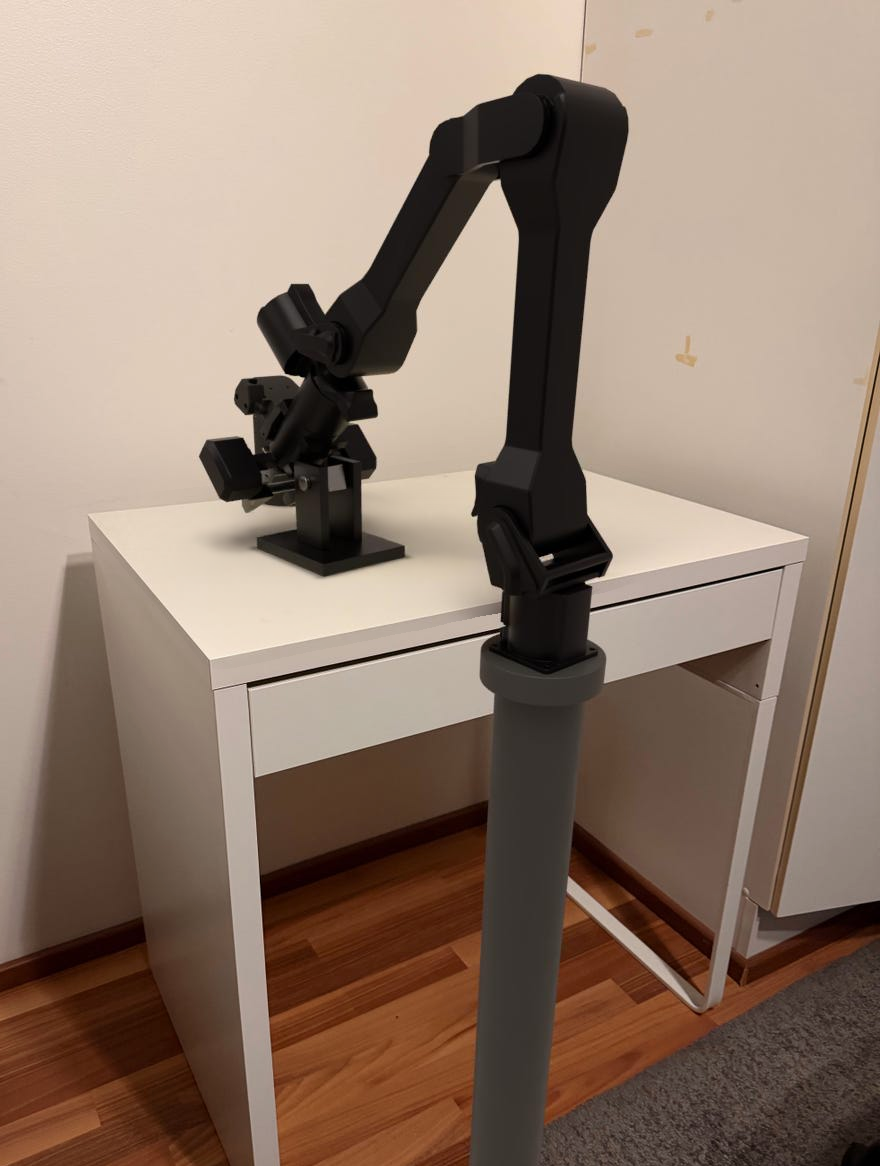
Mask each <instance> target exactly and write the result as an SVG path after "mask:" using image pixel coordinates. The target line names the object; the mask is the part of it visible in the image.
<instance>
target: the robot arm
mask: <svg viewBox="0 0 880 1166" xmlns="http://www.w3.org/2000/svg"><path fill="white" fill-rule="evenodd" d="M629 120H630V119H629V114H628V110H627V107H626V106H624V105H623V103H622V101H621V100H620V99H619V97H618V96H617V94H616V93H615V92H613V91H611V90H610V89H608V88H607V87H603V86H598V85H594V84H590V83H586V82H582V81H578V80H575V79H569V78H565V77H562V76H557V75H554V74H553V75H552V74H548V73H547V74H546V73H537V74H534V75H532V76H529V77H526V78H525V79H524V80H523V81H522V82H521V83H520V84H519V85H518V86H517V87H516V88H515V89H514V91H513V93H512V94H510V95H506V96H502V97H499V98H495V99H491V100H488V101H483V102H481V103H478V104H476V105H474V106H473V107H472V108H471V109H469V110H468V111H467V112H466V113H464V115H461V116H456V117H450V118H449V119H445V120H443V121H442V122H441V123H439V124H438V125H437V126H436V128H435V129H434V130H433V132H432V135H431V138H430V141H429V145H428V146H429V147H428V156H427V157H426V159H425V162H424V163H423V166H422V167H421V169H420V171H419V173H418V175H417V177H416V179H415V180H414V183H413V184H412V186H411V188H410V190H409V191H408V194H407V196H406V198H405V199H404V202H403V203H402V205H401V207H400V209H399V211H398V213H397V215H396V216H395V218H394V220H393V223H392V225H391V226H390V227H389V230H388V231H387V234H386V236H385V238H384V240H383V241H382V244H381V245H380V247H379V249H378V251H377V253H376V255H375V257H374V259H373V261H372V262H371V264H370V266H369V268H368V269H367V271H366V273H364V275H363V276H362V277H361V278H360V279H359V280H358V281H356V282H355V283H354V284H352V285H351V286H349V287H348V288H346V289H345V290H344V291H342V292H341V293H339V295H338V296H337V297H336V298H335V300H334V302H332V304H331V305H330V307H329V308H328V310H327V311H326V312H324V309H323V308H322V307H321V305H320V303H319V302H318V300H317V297H316V295H315V292H314V290H313V288H312V287H311V285H310V283H291V284H290V285H289V287H288V289H287V290H286V291H285V292H283V293H281V294H278V295H276V296H275V297H273V298H272V299H271V300H269V301H268V302H267V303H266V304H265V305H264V306H262V307H260V308H259V311H258V312H257V315H256V325H257V327H258V329H259V330H260V333H261V334H262V336H263V338H264V339H265V341H266V344H268V347H269V348H270V350H271V352H272V354H273V355H274V357H275V359H276V360H277V363H278V365H279V366H280V368H281V369H282V371H283V372H284V375H266V376H264V375H263V376H254V377H248V378H247V377H245V378H241V379H240V380H239V382H238V384H237V386H236V388H235V390H234V395H233V403H234V405H235V406H236V407H237V408H238V410H239V411H240V412H241V413H243V415H245V416H253V415H255V416H256V417H257V418H258V419H259V420H260V421H261V422H262V423H263V426H262V428H261V429H260V432H261V434H262V436H263V438H264V440H269V441H270V446H264V447H263V448H262V451H263V453H260V454H255V453H253V451H252V450H251V448H250V447H249V445H248V443H247V442H246V440H245V438H244V437H243V436H237V435H234V436H225V437H218V438H209V439H208V438H207V439H206V440H205V442H204V444H203V446H202V448H201V450H200V453H199V455H198V458H199V460H200V462H201V465H202V467H203V468H204V470H205V473H206V474H207V476H208V479H209V481H210V483H211V485H212V486H213V488H214V491H215V492H216V495H217V497H218V499H220V500H221V501H223V502H225V503H230V502H237V501H241V507H242V509H243V511H244V513H245V514H249V513H251V512H253V511H254V510H256V509H257V508H259V507H260V506H262V505H264V504H265V502H266V501H268V500H269V499H271V498H272V497H273V496H274V495H273V493H272V491H271V489H270V487H269V484H270V483H271V482H272V480H273V477H275V476H282V475H287V476H288V478H289V479H290V478H292V479H291V480H295V476H294V461H297V460H305V461H308V462H312V463H316V464H320V465H323V466H327V457H328V456H332V455H337V456H341V457H345V458H349V459H353V460H357V461H361V481H362V480H363V481H364V480H369V479H370V478H371V476H372V475H373V474H374V473H375V471H376V470H377V467H378V456H377V455H376V453H375V452H374V449H373V448H372V446H371V444H370V442H369V441H368V439H367V437H366V435H365V433H364V432H363V429H362V428H361V426H360V425H359V424H358V423H355V422H358V421H364V420H371V419H376V418H378V416H379V410H378V409H379V408H378V404H377V402H376V400H375V398H374V391H373V389H372V388H369V386H368V384H367V383H366V381H365V379H364V378H363V377H372V376H383V375H391V374H395V373H396V372H398V371H400V369H401V368H402V367H403V366H404V364H405V361H406V359H407V357H408V355H409V353H410V350H411V347H412V345H413V343H414V340H415V338H416V336H417V333H418V309H419V306H420V304H421V301H422V299H423V298H424V296H425V294H426V292H427V291H428V289H429V287H430V286H431V284H432V283H433V281H434V280H435V278H436V276H437V274H438V273H439V271H440V269H441V267H442V266H443V264H444V263H445V261H446V259H447V258H448V256H449V254H450V253H451V251H452V249H453V248H454V246H455V244H456V242H457V240H458V239H459V237H460V236H461V234H462V232H463V231H464V229H465V227H466V226H467V224H468V222H469V221H470V219H471V217H472V216H473V214H474V212H475V211H476V209H477V207H478V205H479V204H480V202H481V201H482V198H483V197H484V195H485V193H486V192H487V191H488V189H489V187H490V186H491V184H492V183H493V182H497V181H500V188H501V190H502V193H503V196H504V198H505V200H506V203H507V205H508V208H509V211H510V213H511V216H512V218H513V221H514V224H515V226H516V229H517V235H518V238H517V239H518V240H517V241H518V243H517V255H516V257H517V259H516V273H515V288H514V305H513V319H512V321H513V322H512V336H511V350H510V351H511V352H510V364H509V381H508V382H509V384H508V395H507V396H508V398H507V410H506V411H507V413H506V427H505V439H504V443H503V446H502V448H501V450H500V451H499V453H498V455H497V457H496V458H495V460H491V461H487V462H481V463H478V464H477V465H476V468H475V473H474V489H475V497H474V504H473V507H472V510H471V512H470V516H471V517H472V518H475V517H476V532H477V537H478V539H479V542H480V543H481V546H482V551H483V555H484V560H485V565H486V569H487V574H488V578H489V582H490V585H491V586H492V587H495V588H498V589H501V591H502V592H501V602H500V620H499V621H500V623H502V625H503V626H500V628H499V634H500V637H501V638H502V640H499V641H496V642H493V643H490V644H489V648H488V650H489V651H490V652H493V653H495V654H497V655H500V656H502V657H504V658H507V659H509V660H511V661H514V662H516V663H518V664H521V665H523V666H525V667H528V668H530V669H532V670H534V671H537V672H539V673H541V674H545V675H549V674H552V673H555V672H557V671H560V670H562V669H565V668H568V667H570V666H573V665H575V664H578V663H580V662H583V661H585V660H588V659H590V658H593V657H595V656H597V655H598V650H599V649H598V648H595V647H593V646H590V645H588V644H587V639H588V638H589V628H590V627H589V626H590V618H591V617H590V616H591V605H592V595H593V586H592V585H591V584H587V583H586V582H589V581H591V580H594V579H600V578H604V577H605V576H606V574H607V572H608V570H609V567H610V565H611V563H612V560H613V558H614V554H613V552H612V551H611V549H610V547H609V546H608V545H607V543H606V541H605V539H604V537H603V536H602V535H601V533H600V532H599V530H598V528H597V526H596V525H595V524H594V522H593V521H592V519H591V517H590V516H589V514H588V494H587V479H586V476H585V473H584V471H583V468H582V466H581V464H580V462H579V460H578V457H577V454H576V452H575V450H574V446H573V432H574V423H575V422H574V421H575V411H576V410H575V409H576V400H577V392H578V391H577V390H578V379H579V369H580V359H581V348H582V337H583V327H584V326H583V325H584V316H585V306H586V297H587V284H588V273H589V264H590V254H591V253H590V252H591V242H592V237H593V232H594V230H595V228H596V227H597V225H598V223H599V221H600V219H601V218H602V216H603V214H604V212H605V211H606V209H607V207H608V205H609V203H610V201H611V199H612V198H613V196H614V194H615V193H616V189H617V186H618V184H619V177H620V174H621V170H622V166H623V160H624V156H625V152H626V147H627V144H628V139H629V132H630V126H629V125H630V124H629V122H630V121H629ZM286 375H287V376H286ZM290 376H291V377H300V378H302V379H303V380H302V382H301V384H300V386H299V384H298V383H296V382H295V381H294V379H292V378H291V377H290ZM353 422H354V423H353ZM283 501H284V502H285V504H286V506H285V507H291V506H290V505H292V504H295V503H296V501H295V490H292V491H288V492H285V494H284V496H283ZM549 555H552V558H550V559H546V560H543V561H542V560H541V558H543V557H546V556H549Z"/></svg>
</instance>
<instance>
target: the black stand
mask: <svg viewBox="0 0 880 1166" xmlns="http://www.w3.org/2000/svg"><path fill="white" fill-rule="evenodd" d="M335 465H343V470H344V475H345V481H346V487H347V489H344V490H338V491H332V492H328V467H329V466H335ZM294 476H295V501H296V505H295V518H296V519H295V520H296V523H295V525H296V528H294V529H289V530H285V531H280V532H275V533H269V534H264V535H260V536H256V541H255V542H256V548H257V549H258V550H261V551H263V552H266V553H268V554H270V555H273V556H274V557H277V558H279V559H282V560H284V561H286V562H289V563H291V564H293V565H296V566H298V567H301V568H302V569H305V570H308V571H310V572H312V573H314V574H317V575H320V576H322V577H327V576H330V575H336V574H339V573H340V574H341V573H344V572H349V571H353V570H357V569H361V568H365V567H368V566H372V565H377V564H380V563H384V562H385V563H386V562H389V561H390V562H391V561H393V560H398V559H402V558H405V557H406V545H404V544H401V543H399V542H395V541H393V540H390V539H387V538H384V537H381V536H378V535H376V534H373V533H369V532H366V531H364V530H363V507H362V506H363V498H362V497H363V495H362V480H361V461H357V460H353V459H349V458H345V457H341V456H337V455H332V456H328V457H327V466H323V465H320V464H316V463H312V462H308V461H305V460H297V461H294Z"/></svg>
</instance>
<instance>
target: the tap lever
mask: <svg viewBox="0 0 880 1166" xmlns="http://www.w3.org/2000/svg"><path fill="white" fill-rule="evenodd" d="M269 487H270V489H271V491H272V493H273V494H276V493H282V492H288V491H292V490H295V480H287V481H280V482H274V483H270V484H269ZM344 489H347V487H346V481H345V475H344V470H343V465H335V466H329V467H328V492H332V491H338V490H344Z"/></svg>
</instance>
